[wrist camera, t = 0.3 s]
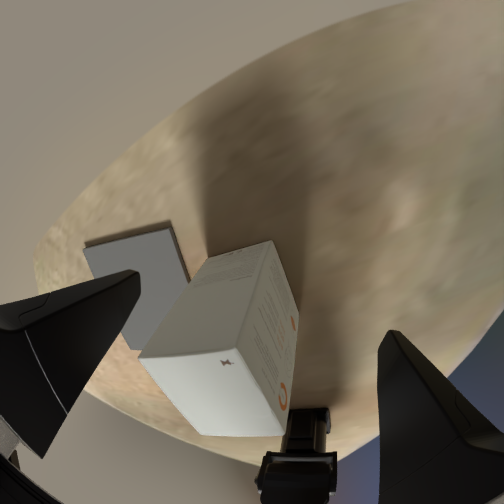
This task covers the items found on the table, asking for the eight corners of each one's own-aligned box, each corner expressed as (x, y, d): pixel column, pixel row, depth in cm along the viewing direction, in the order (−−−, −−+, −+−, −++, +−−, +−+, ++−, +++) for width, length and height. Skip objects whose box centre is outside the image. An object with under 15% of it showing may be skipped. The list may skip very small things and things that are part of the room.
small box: (206, 257, 25) (132, 356, 14) (273, 237, 24) (237, 346, 12) (239, 327, 28) (199, 437, 16) (300, 315, 26) (288, 436, 14)
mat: (216, 347, 30) (214, 351, 29) (132, 346, 33) (130, 349, 32) (171, 226, 25) (169, 229, 24) (85, 247, 28) (82, 249, 27)
